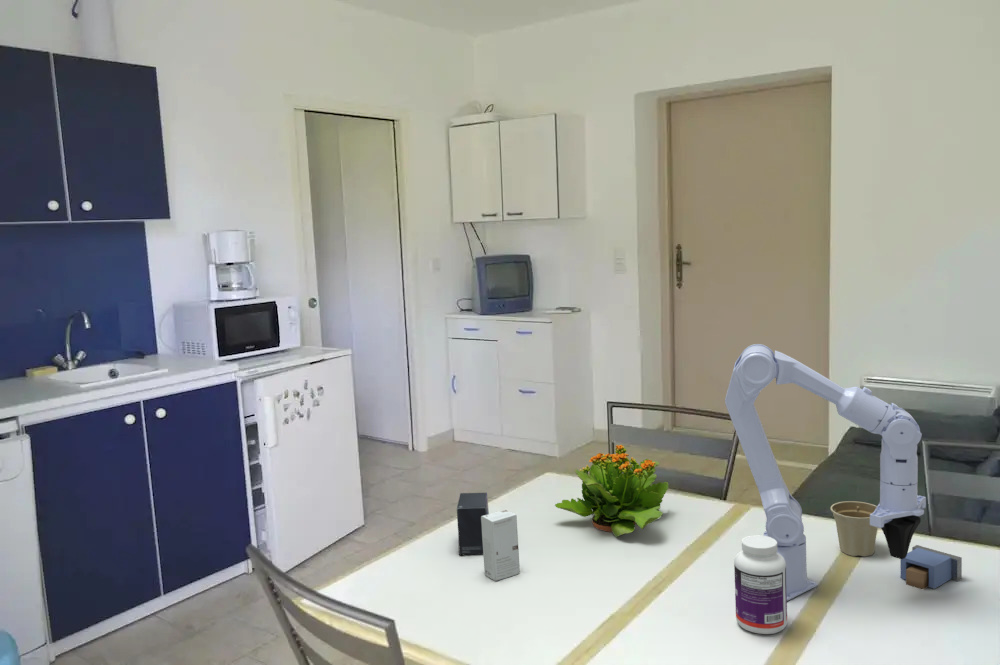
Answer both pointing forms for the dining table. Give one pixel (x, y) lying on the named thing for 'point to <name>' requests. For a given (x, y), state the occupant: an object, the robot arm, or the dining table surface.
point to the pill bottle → (760, 586)
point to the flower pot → (855, 527)
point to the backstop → (955, 563)
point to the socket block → (929, 565)
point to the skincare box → (500, 545)
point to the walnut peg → (917, 576)
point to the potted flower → (618, 493)
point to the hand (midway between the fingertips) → (898, 556)
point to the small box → (471, 522)
